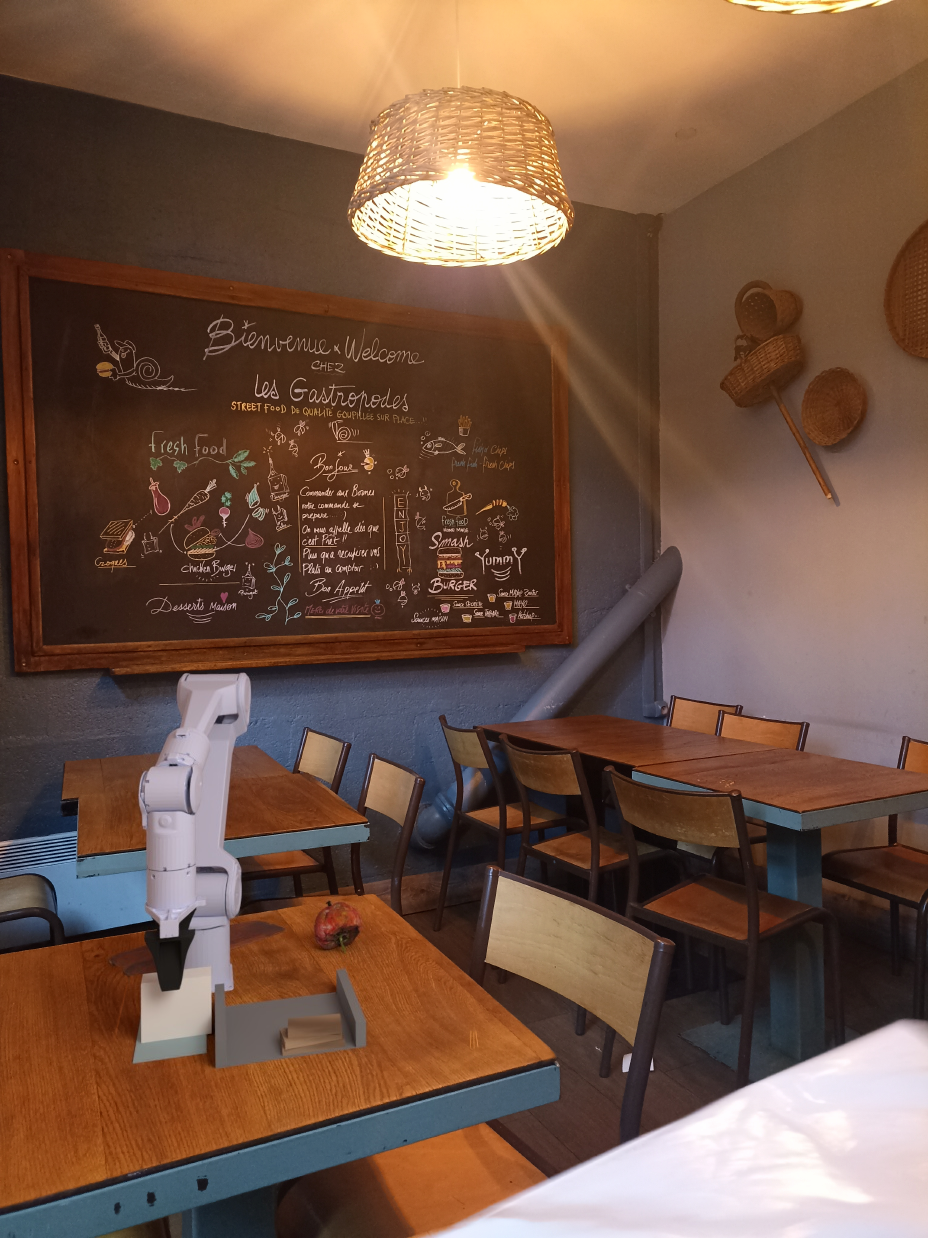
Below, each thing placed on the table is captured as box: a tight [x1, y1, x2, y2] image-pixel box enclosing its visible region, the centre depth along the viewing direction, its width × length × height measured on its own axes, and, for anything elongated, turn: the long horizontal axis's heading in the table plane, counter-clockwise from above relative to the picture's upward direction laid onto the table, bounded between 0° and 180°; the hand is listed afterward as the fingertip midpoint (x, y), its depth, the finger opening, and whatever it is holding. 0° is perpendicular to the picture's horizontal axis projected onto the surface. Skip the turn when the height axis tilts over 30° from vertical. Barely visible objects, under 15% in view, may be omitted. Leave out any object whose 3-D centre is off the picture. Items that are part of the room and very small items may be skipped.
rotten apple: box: [313, 900, 363, 954], centre depth 133 cm, size 7×7×10 cm
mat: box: [132, 1017, 208, 1064], centre depth 104 cm, size 12×8×1 cm, turn 17°
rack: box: [214, 968, 367, 1069], centre depth 106 cm, size 16×17×4 cm
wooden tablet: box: [109, 920, 286, 978], centre depth 134 cm, size 27×10×2 cm, turn 136°
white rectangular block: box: [140, 966, 213, 1043], centre depth 104 cm, size 3×8×7 cm, turn 107°
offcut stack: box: [280, 1014, 345, 1056], centre depth 101 cm, size 4×7×2 cm, turn 107°
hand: (172, 977), depth 104 cm, fingers open, 7 cm apart
